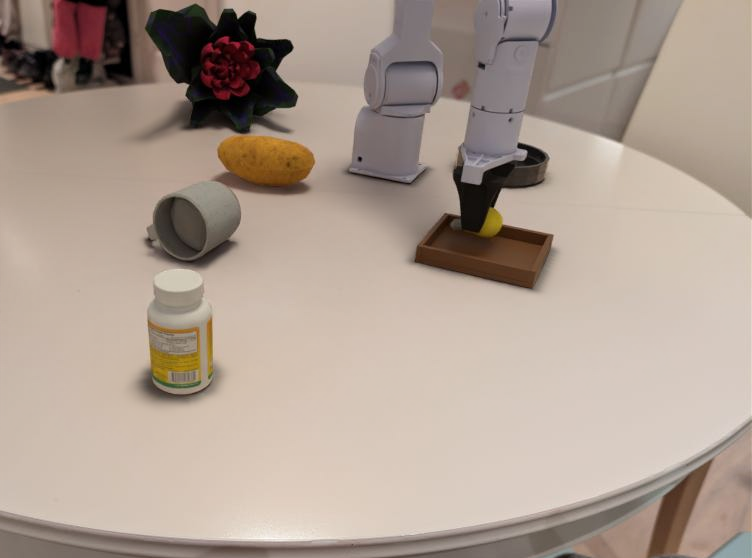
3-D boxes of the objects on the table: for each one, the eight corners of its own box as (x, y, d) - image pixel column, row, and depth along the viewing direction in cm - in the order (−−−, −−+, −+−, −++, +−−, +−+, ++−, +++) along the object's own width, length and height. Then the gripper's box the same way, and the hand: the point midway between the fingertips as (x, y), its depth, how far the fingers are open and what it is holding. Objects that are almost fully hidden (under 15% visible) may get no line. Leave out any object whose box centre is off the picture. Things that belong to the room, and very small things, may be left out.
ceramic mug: (246, 241, 88) (245, 178, 84) (209, 268, 82) (206, 201, 78) (172, 224, 92) (167, 163, 88) (132, 248, 86) (125, 184, 82)
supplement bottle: (182, 404, 61) (176, 303, 56) (138, 379, 64) (129, 280, 59) (226, 376, 65) (225, 278, 59) (183, 354, 68) (178, 258, 62)
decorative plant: (261, 156, 143) (279, 166, 114) (133, 98, 137) (119, 94, 109) (305, 50, 137) (336, 33, 109) (174, -15, 132) (170, -50, 103)
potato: (298, 200, 99) (301, 150, 96) (209, 183, 104) (208, 134, 100) (320, 182, 105) (323, 135, 101) (235, 166, 110) (234, 120, 106)
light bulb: (502, 242, 86) (498, 217, 83) (451, 246, 89) (445, 222, 86) (506, 224, 88) (502, 199, 85) (456, 228, 91) (450, 204, 88)
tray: (414, 261, 85) (416, 245, 84) (442, 227, 93) (444, 212, 92) (531, 288, 80) (535, 272, 79) (550, 250, 88) (554, 234, 87)
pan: (444, 177, 108) (447, 157, 107) (467, 153, 118) (471, 134, 116) (535, 194, 103) (540, 173, 102) (551, 167, 113) (556, 148, 111)
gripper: (521, 129, 73) (494, 254, 80) (547, 96, 84) (522, 210, 91) (451, 118, 75) (431, 241, 83) (485, 88, 86) (465, 199, 94)
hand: (475, 224), depth 87 cm, fingers closed on light bulb, 3 cm apart
